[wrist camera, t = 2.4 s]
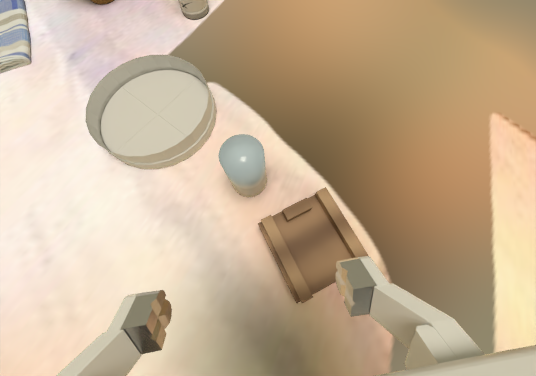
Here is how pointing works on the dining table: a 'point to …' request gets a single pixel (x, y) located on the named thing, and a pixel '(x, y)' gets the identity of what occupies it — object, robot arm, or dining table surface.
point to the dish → (152, 111)
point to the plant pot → (102, 1)
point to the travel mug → (194, 8)
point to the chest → (310, 243)
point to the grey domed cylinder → (244, 164)
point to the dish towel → (13, 35)
